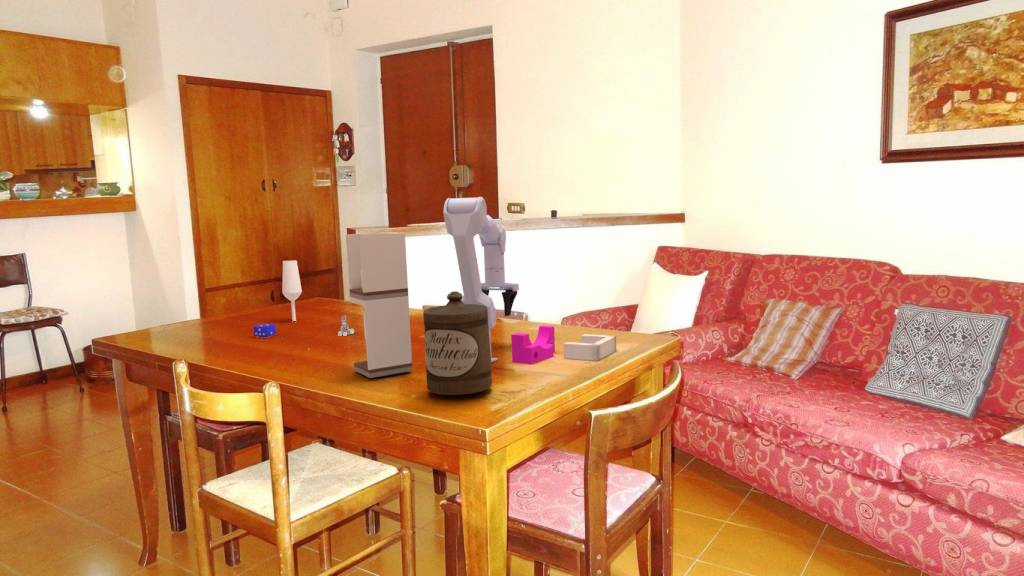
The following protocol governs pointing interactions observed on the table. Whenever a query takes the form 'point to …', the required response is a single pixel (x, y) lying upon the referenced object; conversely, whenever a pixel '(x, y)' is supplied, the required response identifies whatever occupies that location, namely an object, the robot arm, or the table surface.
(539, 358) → the toy block
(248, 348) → the table surface
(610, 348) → the block holder
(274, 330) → the die
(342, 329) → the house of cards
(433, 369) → the wooden container
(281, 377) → the table surface
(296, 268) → the champagne flute
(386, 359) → the grey stacked tower
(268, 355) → the table surface
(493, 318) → the robot arm
